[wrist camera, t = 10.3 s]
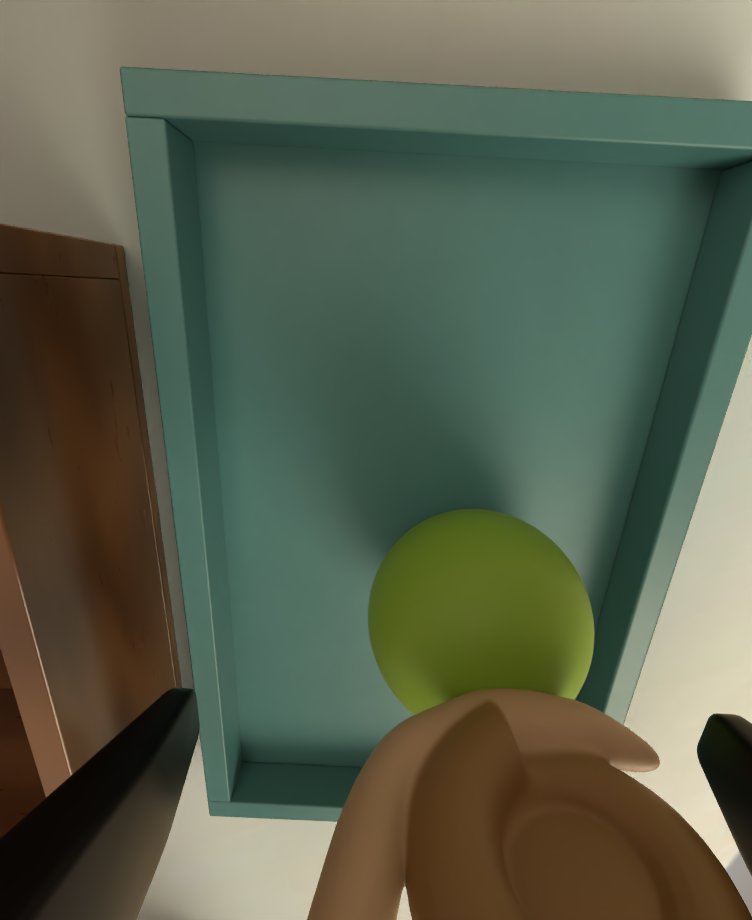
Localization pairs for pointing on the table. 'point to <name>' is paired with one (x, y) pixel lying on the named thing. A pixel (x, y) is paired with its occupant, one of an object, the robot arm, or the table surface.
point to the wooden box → (73, 517)
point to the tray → (421, 370)
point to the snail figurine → (504, 753)
